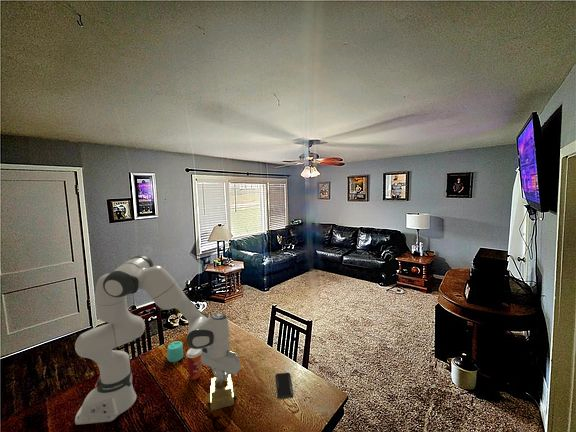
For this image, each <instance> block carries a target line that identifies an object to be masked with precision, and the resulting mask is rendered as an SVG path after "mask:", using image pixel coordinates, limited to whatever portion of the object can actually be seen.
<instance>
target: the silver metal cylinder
mask: <svg viewBox="0 0 576 432" xmlns="http://www.w3.org/2000/svg"><path fill="white" fill-rule="evenodd" d="M224 375H225V371H222V370H221V369H218V368H216V376H215V378H216V386H217V387H218V388H223V387H224V386H225V385H226V379H224Z"/></svg>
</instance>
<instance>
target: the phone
mask: <svg viewBox="0 0 576 432" xmlns="http://www.w3.org/2000/svg"><path fill="white" fill-rule="evenodd" d="M274 376H275V377H274V378H275V387H276V398H278V399H283V398H284V399H285V398H292V397H294V392H293V391H294V390H293V389H294V388H293V385H292V378H291V373H290V372H281V373H279V372H278V373H276V374H275V375H274Z"/></svg>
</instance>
